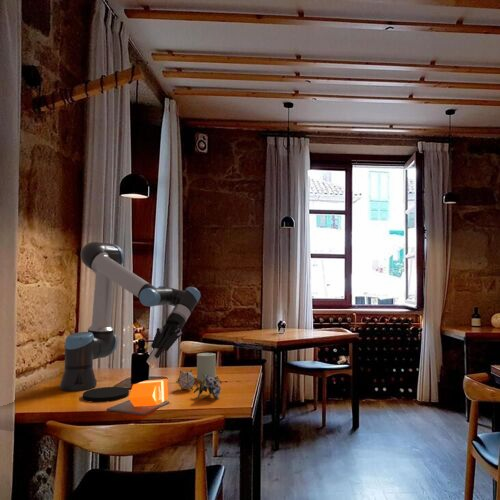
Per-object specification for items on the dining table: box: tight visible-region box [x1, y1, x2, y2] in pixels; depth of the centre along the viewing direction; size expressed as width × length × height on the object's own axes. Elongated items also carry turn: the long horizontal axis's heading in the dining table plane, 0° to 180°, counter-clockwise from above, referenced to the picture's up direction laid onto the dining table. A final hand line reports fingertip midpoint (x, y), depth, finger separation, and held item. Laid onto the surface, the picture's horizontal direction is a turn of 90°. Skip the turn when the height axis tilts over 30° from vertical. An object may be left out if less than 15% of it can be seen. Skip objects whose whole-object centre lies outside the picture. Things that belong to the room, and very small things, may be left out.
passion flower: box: [193, 373, 223, 400], centre depth 177 cm, size 11×11×12 cm
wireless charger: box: [82, 386, 130, 403], centre depth 181 cm, size 18×18×2 cm
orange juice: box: [127, 378, 169, 407], centre depth 165 cm, size 8×9×20 cm
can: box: [196, 352, 217, 382], centre depth 212 cm, size 9×9×12 cm
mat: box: [106, 399, 170, 416], centre depth 165 cm, size 16×16×1 cm
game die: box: [175, 369, 197, 392], centre depth 191 cm, size 9×8×10 cm
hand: (149, 363), depth 174 cm, fingers closed
